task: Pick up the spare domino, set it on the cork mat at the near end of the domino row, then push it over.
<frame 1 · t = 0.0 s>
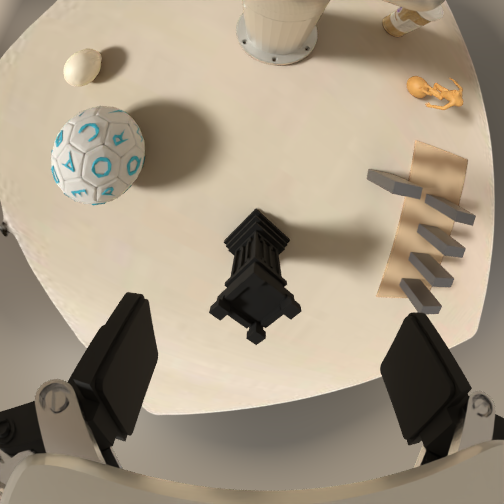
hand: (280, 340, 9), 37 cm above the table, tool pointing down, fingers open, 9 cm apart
puzzle ball: (120, 149, 41), on the table
sprinkles bottle: (392, 27, 29), on the table
domino 3: (427, 229, 45), resting on cork mat
domino 5: (409, 282, 50), resting on cork mat
figurine: (415, 92, 34), on the table
chess piece: (256, 239, 48), on the table
domino 4: (418, 256, 48), resting on cork mat
cream round piece: (93, 69, 34), on the table
spare domino: (380, 176, 42), on the table
cork mat: (426, 228, 45), on the table
domino 2: (434, 200, 42), resting on cork mat
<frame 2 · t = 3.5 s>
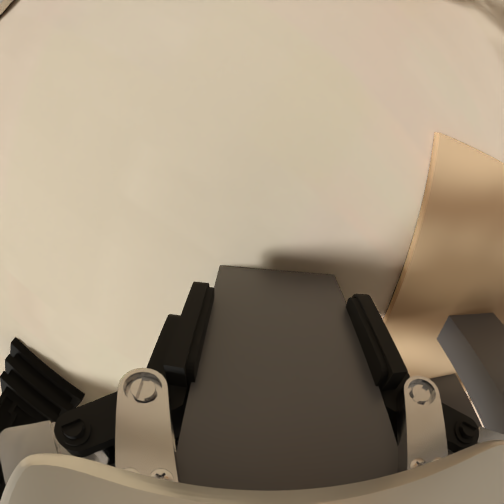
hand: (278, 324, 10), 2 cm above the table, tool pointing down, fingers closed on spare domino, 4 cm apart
domino 3: (428, 385, 15), resting on cork mat
chess piece: (44, 379, 18), on the table
spare domino: (275, 288, 12), on the table, touching gripper
cork mat: (426, 381, 16), on the table
domino 2: (467, 325, 13), resting on cork mat
when the fingers open (3 cm above the table, at t = 8.8 s): spare domino stays where it is, resting on cork mat.
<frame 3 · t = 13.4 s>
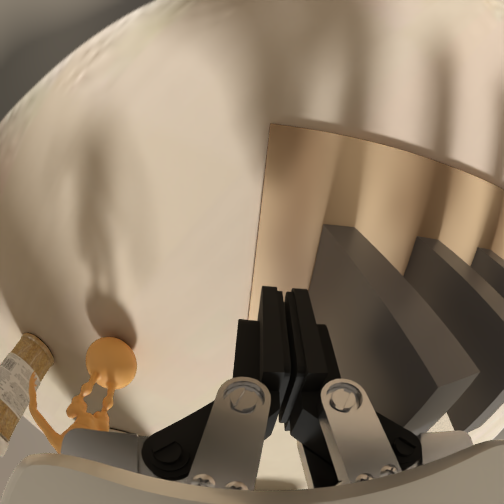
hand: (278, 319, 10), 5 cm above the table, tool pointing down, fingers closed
sprinkles bottle: (40, 346, 20), on the table
domino 3: (472, 279, 15), resting on cork mat
figurine: (125, 337, 18), on the table
spare domino: (329, 268, 14), resting on cork mat
cork mat: (469, 276, 15), on the table
domino 2: (415, 274, 15), resting on cork mat
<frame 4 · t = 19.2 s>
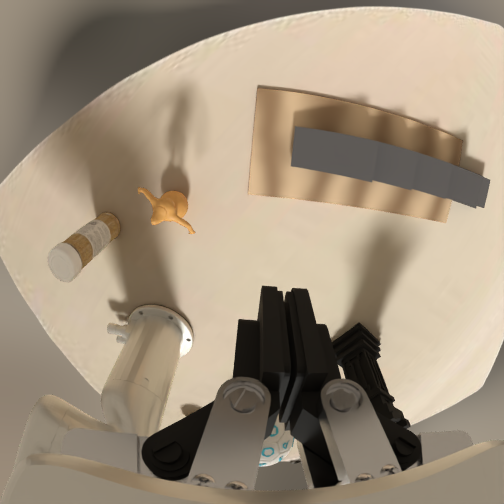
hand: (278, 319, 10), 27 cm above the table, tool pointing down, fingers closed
puzzle ball: (260, 411, 58), on the table
sprinkles bottle: (109, 224, 38), on the table
domino 3: (382, 161, 31), point 1 cm above the table, tilted 73°, touching cork mat, domino 2, domino 4
domino 5: (446, 179, 32), point 1 cm above the table, tilted 90°, touching cork mat, domino 4
figurine: (181, 195, 36), on the table
chess piece: (353, 344, 47), on the table
domino 4: (421, 172, 32), point 1 cm above the table, tilted 69°, touching cork mat, domino 3, domino 5
spare domino: (294, 146, 31), point 1 cm above the table, tilted 72°, touching cork mat, domino 2
cork mat: (371, 158, 33), on the table
domino 2: (339, 152, 31), point 1 cm above the table, tilted 73°, touching cork mat, domino 3, spare domino
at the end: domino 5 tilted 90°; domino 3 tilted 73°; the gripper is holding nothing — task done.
